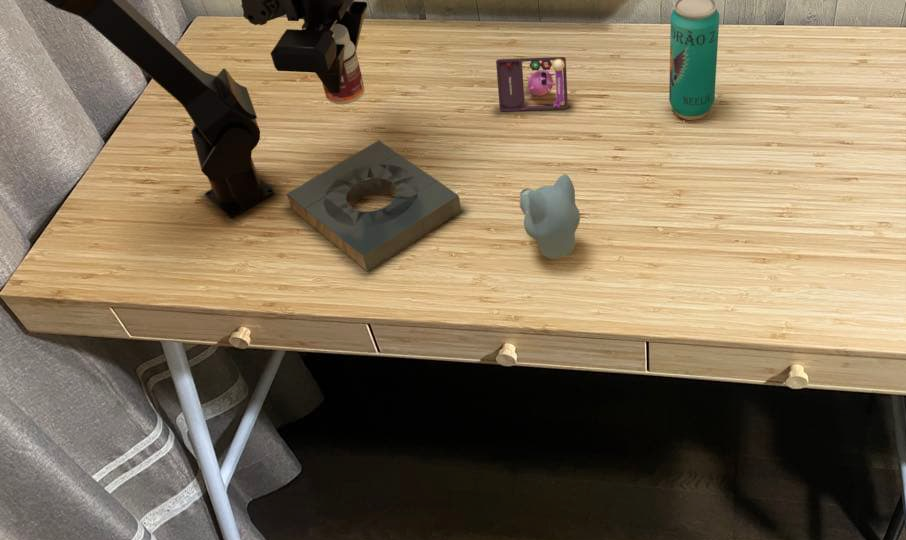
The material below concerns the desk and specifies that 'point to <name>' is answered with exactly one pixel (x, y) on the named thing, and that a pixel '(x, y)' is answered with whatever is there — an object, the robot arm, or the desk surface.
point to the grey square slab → (379, 230)
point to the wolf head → (551, 217)
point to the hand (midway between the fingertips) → (341, 80)
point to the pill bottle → (347, 71)
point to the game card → (530, 82)
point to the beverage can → (693, 57)
